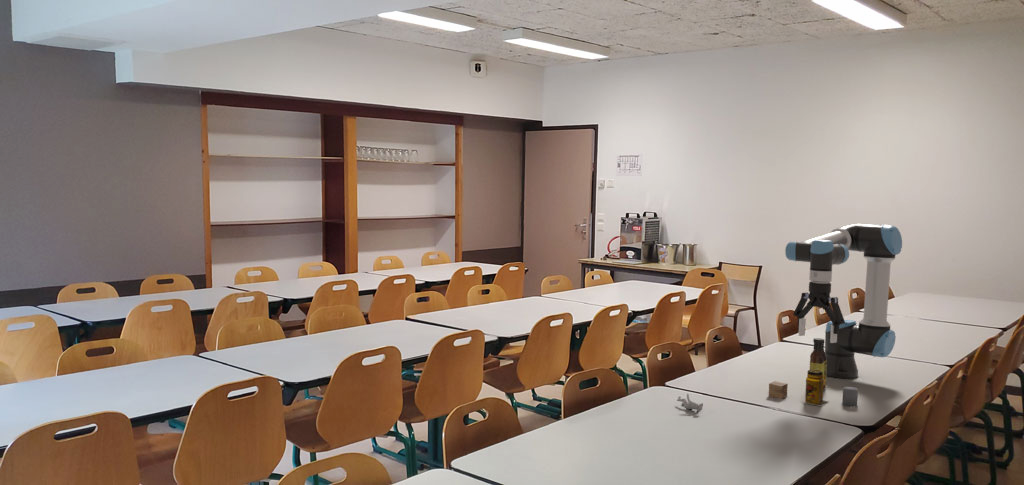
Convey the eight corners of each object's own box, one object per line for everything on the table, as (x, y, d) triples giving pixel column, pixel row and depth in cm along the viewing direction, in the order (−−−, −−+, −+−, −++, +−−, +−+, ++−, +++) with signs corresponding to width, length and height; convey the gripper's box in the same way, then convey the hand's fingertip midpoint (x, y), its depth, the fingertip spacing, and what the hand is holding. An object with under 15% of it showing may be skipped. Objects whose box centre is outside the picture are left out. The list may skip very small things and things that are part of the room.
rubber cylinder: (847, 401, 273) (848, 386, 272) (860, 405, 268) (860, 389, 268) (839, 403, 270) (840, 387, 270) (851, 407, 266) (852, 391, 265)
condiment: (801, 403, 271) (802, 371, 270) (808, 397, 277) (810, 367, 276) (821, 407, 266) (823, 374, 265) (828, 401, 273) (830, 370, 272)
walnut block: (774, 393, 283) (775, 381, 282) (787, 396, 279) (787, 383, 279) (768, 396, 279) (769, 383, 279) (781, 399, 276) (781, 386, 275)
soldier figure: (690, 406, 268) (712, 405, 258) (684, 417, 266) (707, 416, 256) (676, 393, 267) (698, 391, 257) (670, 403, 265) (692, 402, 254)
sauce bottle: (827, 390, 287) (829, 341, 285) (810, 389, 288) (812, 340, 286) (823, 386, 293) (826, 337, 292) (807, 385, 294) (809, 336, 293)
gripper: (785, 278, 277) (782, 333, 278) (843, 286, 255) (840, 346, 257) (798, 277, 281) (795, 332, 282) (857, 285, 259) (854, 344, 261)
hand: (817, 339), depth 270 cm, fingers open, 13 cm apart
